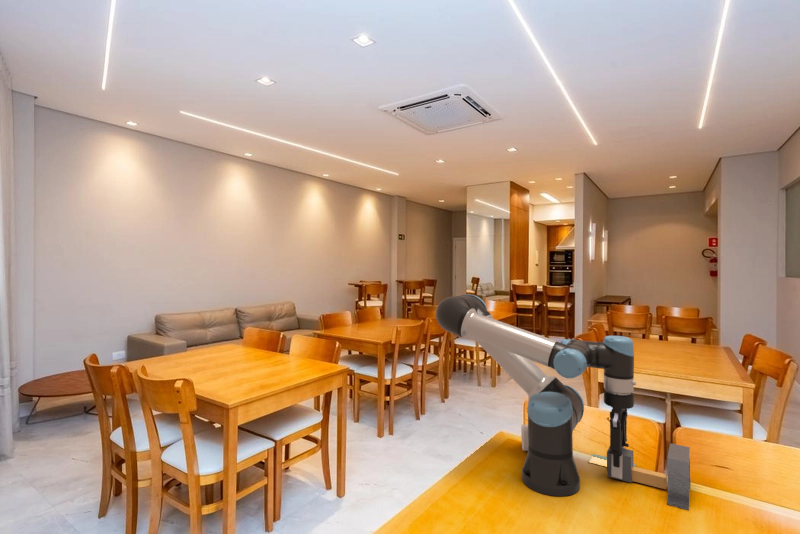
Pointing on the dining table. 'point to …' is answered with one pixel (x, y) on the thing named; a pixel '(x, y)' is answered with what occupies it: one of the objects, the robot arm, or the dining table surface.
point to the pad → (603, 457)
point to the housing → (678, 476)
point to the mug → (524, 437)
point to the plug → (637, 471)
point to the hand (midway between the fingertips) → (618, 473)
